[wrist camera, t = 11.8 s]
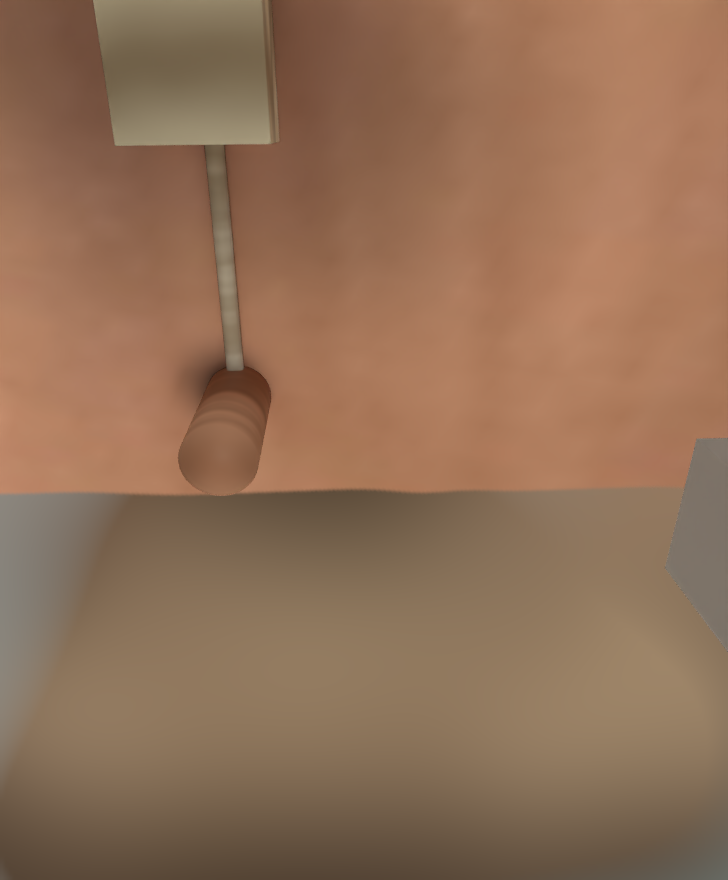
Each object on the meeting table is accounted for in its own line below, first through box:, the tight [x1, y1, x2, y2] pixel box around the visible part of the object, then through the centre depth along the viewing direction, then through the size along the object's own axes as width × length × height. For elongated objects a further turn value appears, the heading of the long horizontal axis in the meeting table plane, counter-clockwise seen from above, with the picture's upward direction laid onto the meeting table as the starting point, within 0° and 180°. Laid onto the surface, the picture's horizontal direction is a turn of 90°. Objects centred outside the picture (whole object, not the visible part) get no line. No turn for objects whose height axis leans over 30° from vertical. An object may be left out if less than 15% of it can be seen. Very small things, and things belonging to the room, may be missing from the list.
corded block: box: [93, 0, 280, 496], centre depth 30 cm, size 20×6×8 cm, turn 1°
